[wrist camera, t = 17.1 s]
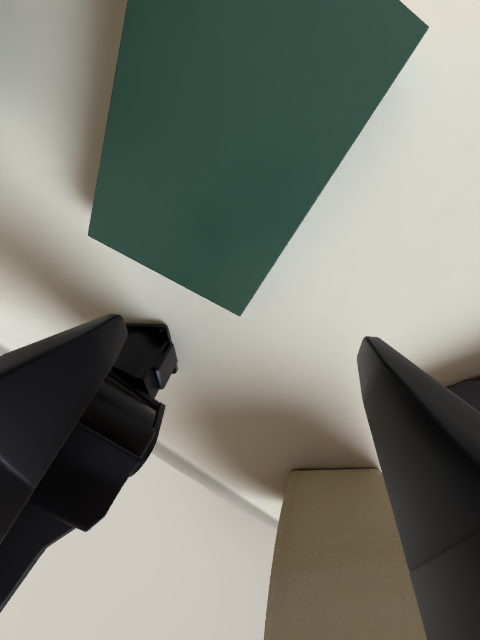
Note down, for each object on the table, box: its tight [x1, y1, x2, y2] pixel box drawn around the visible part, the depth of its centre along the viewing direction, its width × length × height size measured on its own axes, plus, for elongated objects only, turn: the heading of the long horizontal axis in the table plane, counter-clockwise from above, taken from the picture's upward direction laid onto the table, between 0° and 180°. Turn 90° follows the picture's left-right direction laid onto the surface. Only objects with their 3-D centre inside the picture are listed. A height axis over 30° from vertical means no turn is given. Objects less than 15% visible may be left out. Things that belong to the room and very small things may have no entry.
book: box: [88, 0, 429, 316], centre depth 16 cm, size 18×13×3 cm
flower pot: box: [264, 469, 427, 640], centre depth 31 cm, size 19×19×17 cm
